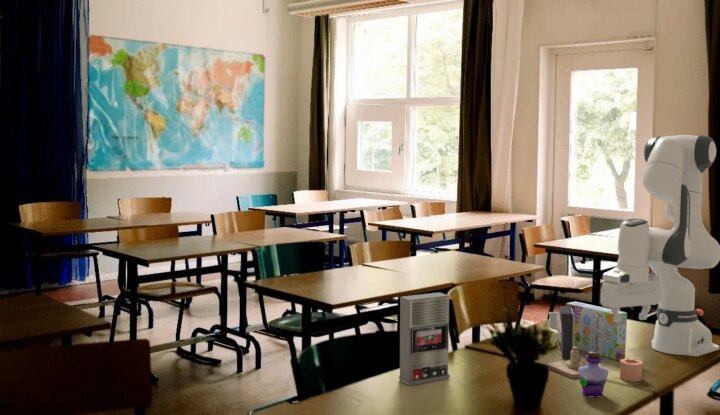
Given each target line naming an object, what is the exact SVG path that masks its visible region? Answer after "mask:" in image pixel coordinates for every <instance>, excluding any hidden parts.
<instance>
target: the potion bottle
mask: <svg viewBox="0 0 720 415" xmlns="http://www.w3.org/2000/svg"><path fill="white" fill-rule="evenodd" d="M585 362H586V363H588V365H587V366H581V367H579V368H578V373H579V384H580V385H581V389H582V395H583V396H586V397H587V396H593V397H592V398H594V397H597V398H599V397H598V396H602V397H603V391H604V388H605V384H606V382H607V380H608V375H609V369H607V368H604V367H602V366H599V364H601V363H602V356H600V353H599V352H594V351H589V352H587V354H586V355H585Z"/></svg>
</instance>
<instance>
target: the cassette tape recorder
mask: <svg viewBox="0 0 720 415" xmlns="http://www.w3.org/2000/svg"><path fill="white" fill-rule="evenodd" d="M399 299H400V301H399V302H400V303H399V304H400V306H399V313H400V315H399V317H400V318H399V319H400V320H399V323H400V324H399V328H400V329H399V376H398V380H399V379H400V380H399V381H401V380H402V381H404V382H405V383H404V382H403V383H404V384H406V383H407V384H406V385H408V386H409V385H412V386H415V385H420V384H425V383H426V384H427V383H431V382H437V381H443V380H449V379H450V378H451V376H450V374H449V344H450V343H449V341H450V340H449V338H450V337H449V335H450V333H449V330H450V327H449V326H450V325H449V323H450V294H445V293H443V292H432V293H423V294H421V293H420V294H413V295H405V296H400V297H399ZM402 381H401V382H402Z"/></svg>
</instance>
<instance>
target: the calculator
mask: <svg viewBox="0 0 720 415" xmlns="http://www.w3.org/2000/svg"><path fill="white" fill-rule="evenodd" d="M559 320H560V333H561V343H560V353H561V354H562V355H561V354H560V355H561V358H562V360H571V350H573V347H574V335H575V333H574V314H573V310H572V308H571V307H567V306H566V305H564V306H563V305H562V306H561V305H559Z"/></svg>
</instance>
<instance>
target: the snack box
mask: <svg viewBox="0 0 720 415" xmlns="http://www.w3.org/2000/svg"><path fill="white" fill-rule="evenodd" d="M565 306H567V307H571V308H572V310H573V314H574V333H575V335H574V347H577V350H578V351H579V350H581V351H583V352H587V353H588V352H589V351H594V352H599V353H600V356H601V357H604V358H608V359H611V360H615V361H616V360H621V359H626V347H627V346H626V345H627V323H628V321H627V320H628V312H625V311H621V310H620V311H618V312H619V314H620V316H622V322H619V323H617V322H615V321H614V315H613V313H612V311H611V308H607V307H603V306H597V305H593V304H589V303H584V302H579V301H570V302H566V304H565Z"/></svg>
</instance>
